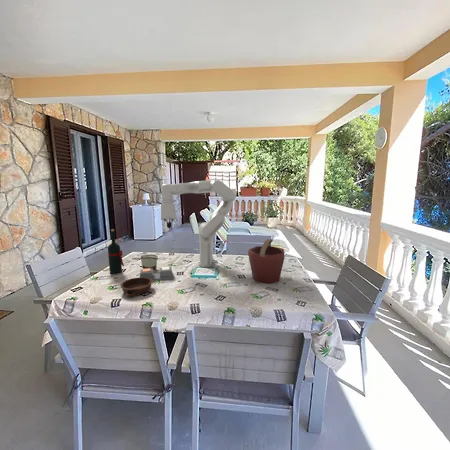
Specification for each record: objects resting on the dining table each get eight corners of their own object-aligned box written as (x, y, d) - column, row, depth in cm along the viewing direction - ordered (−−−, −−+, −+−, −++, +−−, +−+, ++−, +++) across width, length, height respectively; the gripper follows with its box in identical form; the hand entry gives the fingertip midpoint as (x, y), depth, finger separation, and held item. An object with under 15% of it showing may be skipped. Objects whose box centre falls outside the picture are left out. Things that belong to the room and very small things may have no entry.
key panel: (172, 273, 175) (172, 266, 174) (173, 278, 166) (173, 270, 165) (139, 276, 170) (139, 269, 169) (139, 281, 160) (138, 274, 159)
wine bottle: (121, 274, 173) (117, 230, 168) (107, 274, 174) (103, 230, 169) (127, 270, 181) (124, 228, 176) (113, 270, 182) (110, 228, 177)
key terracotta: (150, 272, 169) (150, 268, 168) (150, 275, 164) (150, 270, 163) (142, 273, 167) (142, 269, 167) (142, 276, 163) (142, 271, 162)
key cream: (169, 271, 172) (169, 266, 171) (169, 273, 167) (169, 269, 167) (161, 271, 171) (161, 267, 170) (161, 274, 166) (161, 269, 165)
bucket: (260, 270, 180) (261, 234, 176) (291, 276, 167) (292, 238, 163) (242, 281, 160) (242, 241, 156) (275, 289, 148) (276, 247, 143)
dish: (157, 283, 159) (156, 275, 158) (147, 299, 137) (146, 290, 136) (128, 283, 159) (128, 275, 158) (114, 299, 137) (113, 290, 136)
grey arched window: (160, 267, 186) (160, 254, 185) (157, 270, 180) (157, 256, 179) (144, 267, 188) (143, 254, 186) (140, 270, 182) (140, 256, 180)
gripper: (178, 201, 184) (179, 226, 187) (156, 201, 180) (158, 227, 183) (179, 202, 177) (180, 228, 180) (156, 202, 173) (158, 229, 176)
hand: (169, 227), depth 182 cm, fingers closed
